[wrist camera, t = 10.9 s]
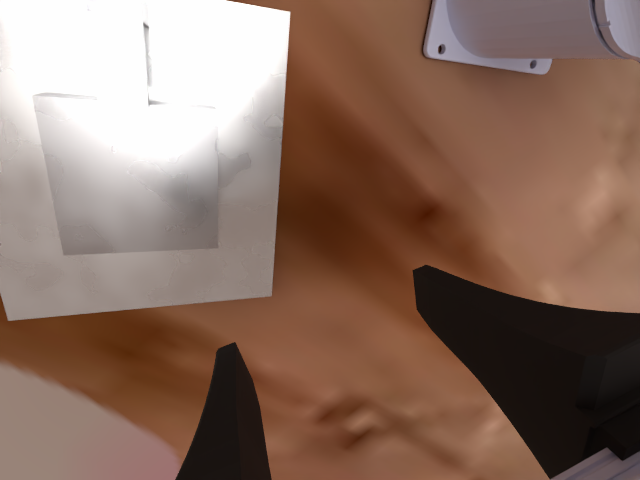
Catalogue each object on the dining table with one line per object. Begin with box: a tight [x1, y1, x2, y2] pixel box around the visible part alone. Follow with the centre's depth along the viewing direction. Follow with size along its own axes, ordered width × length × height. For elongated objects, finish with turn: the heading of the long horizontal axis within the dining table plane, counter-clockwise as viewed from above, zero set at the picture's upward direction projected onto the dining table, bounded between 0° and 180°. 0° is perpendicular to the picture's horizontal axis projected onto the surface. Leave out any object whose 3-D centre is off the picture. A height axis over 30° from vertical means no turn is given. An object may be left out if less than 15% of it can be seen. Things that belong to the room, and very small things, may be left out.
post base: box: [0, 0, 290, 321], centre depth 17 cm, size 14×16×5 cm
